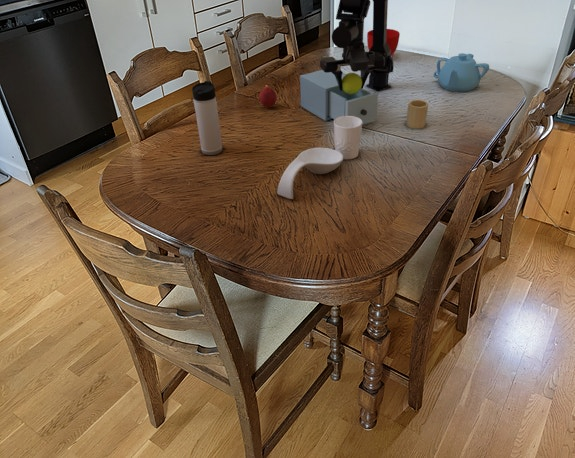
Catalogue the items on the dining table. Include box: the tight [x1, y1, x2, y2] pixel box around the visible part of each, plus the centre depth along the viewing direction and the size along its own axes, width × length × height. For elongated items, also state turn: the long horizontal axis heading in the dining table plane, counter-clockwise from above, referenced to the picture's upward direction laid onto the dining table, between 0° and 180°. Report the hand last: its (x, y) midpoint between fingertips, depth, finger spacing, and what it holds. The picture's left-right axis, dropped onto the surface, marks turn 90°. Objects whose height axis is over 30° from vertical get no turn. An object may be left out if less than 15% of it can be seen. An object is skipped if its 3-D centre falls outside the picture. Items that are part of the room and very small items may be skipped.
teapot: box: [433, 52, 490, 93], centre depth 178 cm, size 15×17×11 cm
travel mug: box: [191, 80, 224, 156], centre depth 142 cm, size 6×7×20 cm
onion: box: [258, 84, 278, 109], centre depth 169 cm, size 6×6×8 cm
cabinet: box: [299, 69, 347, 122], centre depth 166 cm, size 15×13×11 cm
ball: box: [342, 72, 362, 94], centre depth 153 cm, size 6×6×6 cm
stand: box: [405, 99, 429, 130], centre depth 155 cm, size 6×6×7 cm
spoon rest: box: [276, 147, 344, 200], centre depth 131 cm, size 24×12×7 cm, turn 146°
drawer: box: [328, 88, 379, 126], centre depth 157 cm, size 15×12×9 cm
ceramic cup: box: [366, 28, 401, 57], centre depth 203 cm, size 13×17×10 cm
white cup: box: [333, 116, 363, 160], centre depth 140 cm, size 8×8×10 cm
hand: (351, 89), depth 154 cm, fingers closed on ball, 6 cm apart
